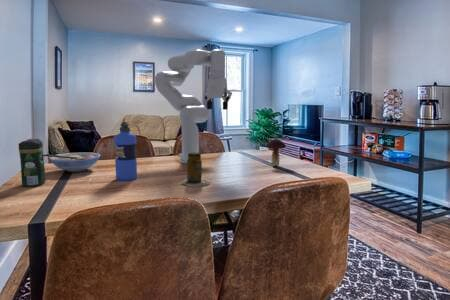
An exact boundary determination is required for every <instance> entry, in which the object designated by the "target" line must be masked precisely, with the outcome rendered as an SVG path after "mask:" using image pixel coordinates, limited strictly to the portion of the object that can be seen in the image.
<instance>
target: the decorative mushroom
mask: <svg viewBox="0 0 450 300" xmlns="http://www.w3.org/2000/svg"><path fill="white" fill-rule="evenodd" d="M265 148H267V149H272V153H271V158H270V159H271V161H270V163H271V166H272V167H274V166H277V167H278V166H279V165H280V152H279V149H284V148H287V145H286V143H285V142H283V141H282V140H281V139H278V138H274V139H272V140H270V141H268V142H267V143H266V144H265Z"/></svg>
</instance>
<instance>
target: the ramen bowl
mask: <svg viewBox="0 0 450 300" xmlns="http://www.w3.org/2000/svg"><path fill="white" fill-rule="evenodd" d="M43 157H48V158H49V160H50V161H51V162H52V164H53V165H54V166H55V167H56V168H58V169H60V170H64V171H67V172H69V173H80V172H84V171H85V170H87V169H89V168H92V167H93V166H94V165H95V164H97V162H98V161H99V159H100V157H101V154H100V153H96V152H68V153H67V152H66V153H58V154H50V153H46V154H43Z"/></svg>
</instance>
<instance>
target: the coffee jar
mask: <svg viewBox="0 0 450 300" xmlns="http://www.w3.org/2000/svg"><path fill="white" fill-rule="evenodd" d="M18 152H19V160H20V177H21V185H22V186H23V187H28V188H29V187H30V188H31V187H35V186H41V185H43V184H44V183H45V182H46V180H47V178H46V177H47V176H46V170H45V160H44V159H45V156H43V155H44V145H43V141H42V140H40V139H39V138H28V139H26V140H23V141H21V142H18Z"/></svg>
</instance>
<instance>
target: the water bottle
mask: <svg viewBox="0 0 450 300" xmlns="http://www.w3.org/2000/svg"><path fill="white" fill-rule="evenodd" d="M129 126H130V124H129V123H128V122H127V121H123V122H121V123H120V126H119V131H120V132H119V133H118V134H115V135H114V136H113V144H114V149H115V161H114V162H115V180H116V181H119V182H130V181H135V180H137V179H138V161H137V154H136V149H137V135H135V134H134V133H132V132H130V131H131V127H129Z"/></svg>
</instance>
